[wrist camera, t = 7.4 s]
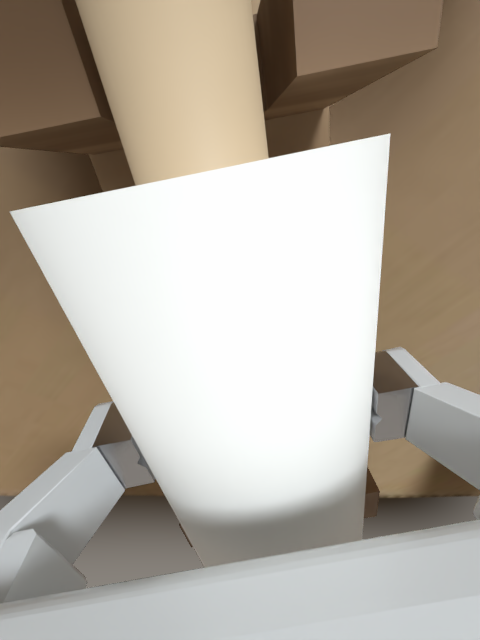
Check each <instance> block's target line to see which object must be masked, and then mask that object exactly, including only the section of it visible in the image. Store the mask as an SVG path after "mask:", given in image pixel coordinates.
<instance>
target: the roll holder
mask: <svg viewBox="0 0 480 640" xmlns="http://www.w3.org/2000/svg"><path fill="white" fill-rule="evenodd" d="M443 1H444V0H251V4H252V13H253V22H254V31H255V40H256V49H257V58H258V67H259V76H260V85H261V94H262V103H263V112H264V121H265V130H266V139H267V148H268V157H269V158H272V157H277V156H282V155H287V154H292V153H297V152H302V151H307V150H312V149H317V148H321V147H326V146H330V110H329V106H330V105H331V104H333V103H335V102H337V101H339V100H341V99H343V98H344V97H346V96H348V95H350V94H352V93H354V92H356V91H357V90H359V89H361V88H363V87H365V86H367V85H369V84H371V83H372V82H374V81H376V80H378V79H380V78H382V77H384V76H385V75H387V74H389V73H391V72H393V71H395V70H397V69H398V68H400V67H402V66H404V65H406V64H408V63H410V62H411V61H413V60H415V59H417V58H419V57H421V56H423V55H425V54H426V53H428V52H430V51H432V50H434V49H436V48H437V47H438V39H439V31H440V24H441V16H442V8H443ZM0 147H10V148H21V149H33V150H44V151H56V152H67V153H78V154H88V155H89V157H90V160H91V163H92V165H93V168H94V170H95V173H96V176H97V178H98V181H99V184H100V186H101V189H102V192H107V191H112V190H117V189H121V188H126V187H131V186H136V185H135V182H134V179H133V176H132V173H131V170H130V167H129V164H128V161H127V158H126V155H125V152H124V148H123V145H122V142H121V139H120V136H119V133H118V130H117V127H116V124H115V121H114V118H113V115H112V112H111V109H110V106H109V103H108V99H107V96H106V93H105V90H104V87H103V84H102V81H101V78H100V75H99V72H98V69H97V66H96V63H95V60H94V57H93V53H92V50H91V47H90V44H89V41H88V38H87V35H86V32H85V29H84V26H83V23H82V20H81V17H80V14H79V11H78V7H77V4H76V1H75V0H0ZM379 493H380V491H379V489H378V487H377V485H376V483H375V481H374V479H373V477H372V475H371V473H370V471H369V469H368V467H367V477H366V491H365V506H364V518H368V517H373V516H376V515H377V507H378V500H379ZM179 525H180V528H181V530H182V531H183V533H184V535H185V537H186V539H187V540H188V542H189V544H190V546H191V547H193V546H192V544H191V542H190V540H189V539H188V537H187V535H186V533H185V531H184V529H183V528H182V526H181V524H179Z"/></svg>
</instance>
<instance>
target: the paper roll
mask: <svg viewBox="0 0 480 640" xmlns="http://www.w3.org/2000/svg"><path fill="white" fill-rule="evenodd" d="M75 1H76V4H77V7H78V11H79V14H80V17H81V20H82V23H83V26H84V29H85V32H86V35H87V38H88V41H89V44H90V47H91V50H92V53H93V57H94V60H95V63H96V66H97V69H98V72H99V75H100V78H101V81H102V84H103V87H104V90H105V93H106V96H107V99H108V103H109V106H110V109H111V112H112V115H113V118H114V121H115V124H116V127H117V130H118V133H119V136H120V139H121V142H122V145H123V148H124V152H125V155H126V158H127V161H128V164H129V167H130V170H131V173H132V176H133V179H134V182H135V185H136V186H131V187H126V188H121V189H117V190H112V191H107V192H102V193H97V194H92V195H87V196H83V197H78V198H73V199H68V200H63V201H58V202H54V203H49V204H44V205H39V206H34V207H30V208H25V209H20V210H15V211H11V212H10V213H11V215H12V217H13V219H14V221H15V223H16V224H17V226H18V228H19V230H20V232H21V233H22V235H23V237H24V239H25V241H26V243H27V244H28V246H29V248H30V250H31V252H32V254H33V255H34V257H35V259H36V261H37V263H38V265H39V266H40V268H41V270H42V272H43V274H44V275H45V277H46V279H47V281H48V283H49V285H50V286H51V288H52V290H53V292H54V294H55V296H56V297H57V299H58V301H59V303H60V305H61V307H62V308H63V310H64V312H65V314H66V316H67V318H68V319H69V321H70V323H71V325H72V327H73V328H74V330H75V332H76V334H77V336H78V338H79V339H80V341H81V343H82V345H83V347H84V349H85V350H86V352H87V354H88V356H89V358H90V360H91V361H92V363H93V365H94V367H95V369H96V370H97V372H98V374H99V376H100V378H101V380H102V381H103V383H104V385H105V387H106V389H107V391H108V392H109V394H110V396H111V398H112V400H113V402H114V403H115V405H116V407H117V409H118V411H119V413H120V414H121V416H122V418H123V420H124V422H125V423H126V425H127V427H128V429H129V431H130V433H131V434H132V436H133V438H134V440H135V442H136V444H137V445H138V447H139V449H140V451H141V453H142V455H143V456H144V458H145V460H146V462H147V464H148V465H149V467H150V469H151V471H152V473H153V475H154V476H155V478H156V480H157V482H158V484H159V486H160V487H161V489H162V491H163V493H164V495H165V497H166V498H167V500H168V502H169V504H170V506H171V507H172V509H173V511H174V513H175V514H176V517H177V518H178V520H179V522H180V524H181V526H182V528H183V529H184V531H185V533H186V535H187V537H188V539H189V540H190V542H191V544H192V546H193V547H194V550H195V551H196V553H197V555H198V557H199V559H200V560H201V562H202V564H203V566H204V567H210V566H216V565H222V564H227V563H233V562H239V561H244V560H250V559H256V558H262V557H267V556H273V555H279V554H285V553H290V552H296V551H302V550H308V549H313V548H319V547H325V546H330V545H336V544H342V543H348V542H353V541H359V540H362V534H363V520H364V506H365V491H366V477H367V462H368V448H369V434H370V419H371V405H372V391H373V376H374V362H375V347H376V333H377V319H378V304H379V290H380V276H381V261H382V247H383V232H384V218H385V204H386V189H387V175H388V161H389V146H390V134H386V135H381V136H376V137H371V138H366V139H361V140H356V141H351V142H346V143H341V144H336V145H331V146H326V147H321V148H317V149H312V150H307V151H302V152H297V153H292V154H287V155H282V156H277V157H272V158H269V157H268V148H267V139H266V130H265V121H264V112H263V103H262V94H261V85H260V76H259V67H258V58H257V49H256V40H255V31H254V22H253V13H252V4H251V0H75Z"/></svg>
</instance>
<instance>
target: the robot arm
mask: <svg viewBox="0 0 480 640" xmlns="http://www.w3.org/2000/svg"><path fill="white" fill-rule="evenodd" d="M370 436H371V438H372V439H373V441H374V442H379V441H385V440H392V439H398V438H405V437H406V440H408V441H409V442H411V443H412V444H413V445H415V446H416V447H418V448H419V449H421V450H422V451H424V452H425V453H426V454H428V455H429V456H431V457H432V458H434V459H435V460H436V461H438V462H439V463H441V464H442V465H444V466H445V467H447V468H448V469H449V470H451V471H452V472H454V473H455V474H457V475H458V476H460V477H461V478H462V479H464V480H465V481H467V482H468V483H470V484H471V485H473V486H474V487H475V488H477V489H478V490H480V395H478V394H476V393H473V392H470V391H468V390H465V389H463V388H460V387H457V386H455V385H452V384H450V383H447V382H445V383H440V382H439V381H438V380H437V379H436V378H435V377H434V376H432V375H431V374H430V373H429V372H428V371H427V370H426V369H425V368H424V367H423V366H422V365H421V364H420V363H419V362H418V361H417V360H416V359H415V358H414V357H412V356H411V355H410V354H409V353H408V352H407V351H406V350H405V349H404V348H401V347H397V348H392V349H387V350H383V351H379V352H375V362H374V376H373V391H372V405H371V419H370ZM153 482H155V476H154V475H153V473H152V471H151V469H150V467H149V465H148V464H147V462H146V460H145V458H144V456H143V455H142V453H141V451H140V449H139V447H138V445H137V444H136V442H135V440H134V438H133V436H132V434H131V433H130V431H129V429H128V427H127V425H126V423H125V422H124V420H123V418H122V416H121V414H120V413H119V411H118V409H117V407H116V405H115V403H114V402H107V403H101V404H98V405H97V406H95V407H94V409H93V411H92V413H91V415H90V417H89V419H88V421H87V423H86V424H85V426H84V428H83V430H82V432H81V434H80V436H79V438H78V440H77V442H76V444H75V446H74V448H73V450H72V452H68V453H65V454H64V455H63V456H62V457H61V458H60V459H58V460H57V461H56V462H55V463H54V464H53V465H52V466H50V467H49V468H48V469H47V470H46V471H45V472H44V473H43V474H41V475H40V476H39V477H38V478H37V479H36V480H35V481H33V482H32V483H31V484H30V485H29V486H28V487H27V488H25V489H24V490H23V491H22V492H21V493H20V494H19V495H17V496H16V497H15V498H14V499H13V500H12V501H11V502H10V503H9V504H7V505H6V506H5V507H4V508H3V509H2V510H0V640H480V495H479V497H478V500H477V502H476V505H475V507H474V510H473V515H474V516H475V518H476V519H477V520H474V521H468V522H462V523H457V524H452V525H445V526H439V527H434V528H428V529H422V530H417V531H411V532H405V533H399V534H394V535H388V536H382V537H376V538H371V539H365V540H359V541H353V542H348V543H342V544H336V545H330V546H325V547H319V548H313V549H308V550H302V551H296V552H290V553H285V554H279V555H273V556H267V557H262V558H256V559H250V560H244V561H239V562H233V563H227V564H222V565H216V566H210V567H204V568H199V569H193V570H187V571H181V572H176V573H170V574H164V575H159V576H153V577H147V578H142V579H136V580H130V581H124V582H119V583H113V584H107V585H102V586H96V587H90V588H85V587H86V584H87V580H86V578H85V576H84V575H83V574H82V573H81V572H80V571H79V570H78V569H77V568H75V567H74V566H73V563H74V562H75V561H76V559H77V558H78V556H79V555H80V553H81V552H82V550H83V549H84V548H85V546H86V545H87V543H88V542H89V541H90V539H91V538H92V536H93V535H94V534H95V532H96V531H97V529H98V528H99V527H100V525H101V524H102V522H103V521H104V519H105V518H106V517H107V515H108V514H109V512H110V511H111V509H112V508H113V507H114V505H115V504H116V502H117V501H118V500H119V498H120V497H121V495H122V494H123V493H124V491H125V488H130V487H134V486H139V485H144V484H148V483H153Z"/></svg>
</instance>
